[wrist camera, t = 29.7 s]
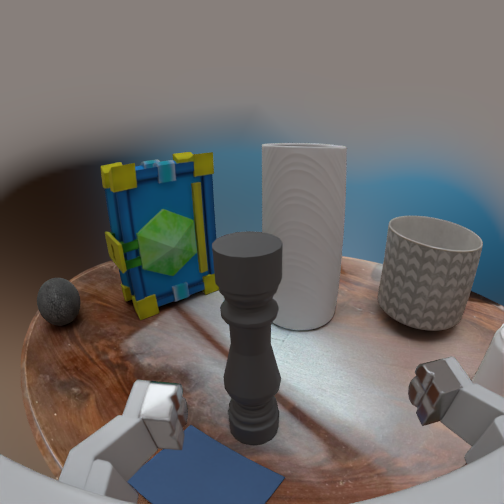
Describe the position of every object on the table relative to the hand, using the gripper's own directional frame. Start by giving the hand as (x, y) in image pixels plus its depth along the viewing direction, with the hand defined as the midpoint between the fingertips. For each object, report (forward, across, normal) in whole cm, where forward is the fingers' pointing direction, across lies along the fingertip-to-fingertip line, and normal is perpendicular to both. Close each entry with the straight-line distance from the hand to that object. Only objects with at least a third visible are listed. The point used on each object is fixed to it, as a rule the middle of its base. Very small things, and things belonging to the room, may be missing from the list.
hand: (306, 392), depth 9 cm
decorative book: (+50, -19, -26) cm, 60 cm away
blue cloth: (+7, -8, -26) cm, 28 cm away
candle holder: (+16, -2, -26) cm, 31 cm away
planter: (+38, +32, -26) cm, 56 cm away
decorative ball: (+38, -42, -26) cm, 63 cm away
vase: (+43, +7, -26) cm, 51 cm away
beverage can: (+13, +34, -26) cm, 45 cm away
